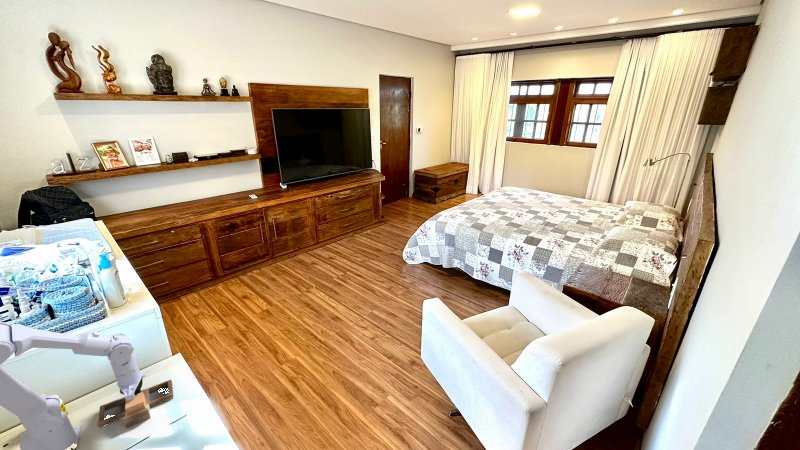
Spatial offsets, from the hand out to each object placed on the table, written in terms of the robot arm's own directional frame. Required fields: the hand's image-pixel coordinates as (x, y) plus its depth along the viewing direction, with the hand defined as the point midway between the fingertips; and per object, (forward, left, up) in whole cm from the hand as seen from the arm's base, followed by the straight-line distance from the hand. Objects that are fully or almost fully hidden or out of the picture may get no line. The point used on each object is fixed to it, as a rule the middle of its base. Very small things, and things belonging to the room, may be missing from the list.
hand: (136, 397), depth 103 cm
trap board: (0, -2, -3) cm, 4 cm away
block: (0, -4, -1) cm, 4 cm away
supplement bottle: (-20, +7, -3) cm, 21 cm away
